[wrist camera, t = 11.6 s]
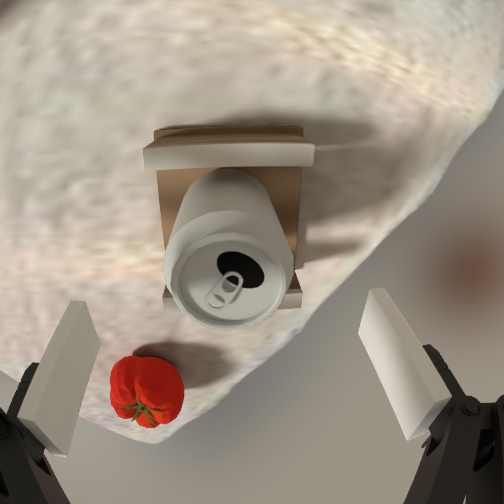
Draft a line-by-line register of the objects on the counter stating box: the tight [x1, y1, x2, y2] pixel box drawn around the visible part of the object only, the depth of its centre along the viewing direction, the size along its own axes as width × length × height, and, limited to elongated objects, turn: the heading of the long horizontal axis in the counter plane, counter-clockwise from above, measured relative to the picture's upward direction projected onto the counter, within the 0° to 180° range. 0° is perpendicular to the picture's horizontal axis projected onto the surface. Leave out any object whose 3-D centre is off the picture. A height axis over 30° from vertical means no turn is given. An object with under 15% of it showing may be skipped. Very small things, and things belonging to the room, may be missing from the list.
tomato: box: [110, 355, 184, 428], centre depth 34 cm, size 9×9×8 cm
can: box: [163, 168, 294, 331], centre depth 22 cm, size 8×8×12 cm
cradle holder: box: [143, 126, 315, 313], centre depth 25 cm, size 14×12×7 cm
